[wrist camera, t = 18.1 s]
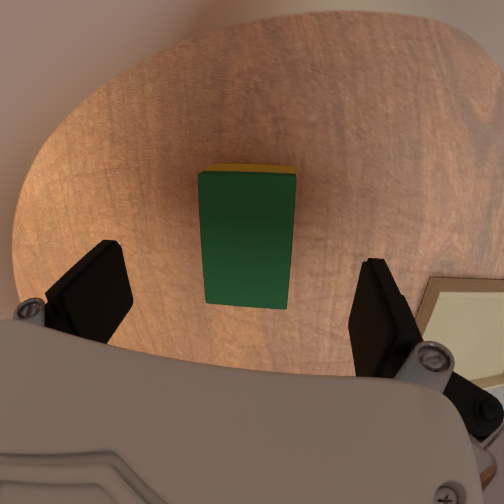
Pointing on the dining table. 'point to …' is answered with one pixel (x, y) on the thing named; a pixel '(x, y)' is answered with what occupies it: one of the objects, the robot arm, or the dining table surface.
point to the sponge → (247, 233)
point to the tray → (467, 326)
